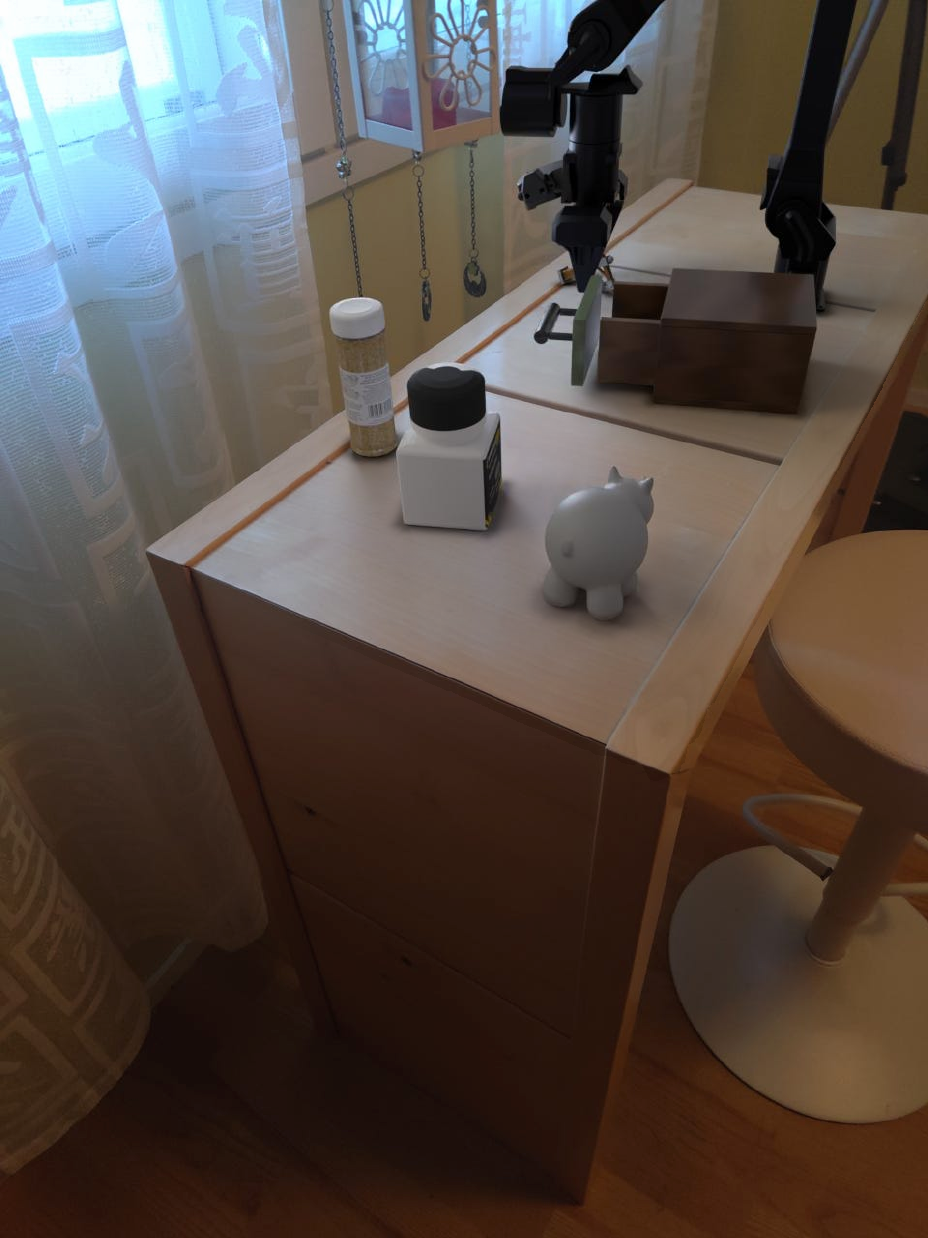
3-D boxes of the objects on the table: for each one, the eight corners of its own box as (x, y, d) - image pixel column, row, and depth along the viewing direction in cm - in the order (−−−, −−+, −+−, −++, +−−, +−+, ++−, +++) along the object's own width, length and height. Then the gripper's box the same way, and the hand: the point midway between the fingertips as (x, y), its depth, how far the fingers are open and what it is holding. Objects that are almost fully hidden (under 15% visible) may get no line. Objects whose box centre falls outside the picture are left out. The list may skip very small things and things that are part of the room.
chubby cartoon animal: (684, 549, 69) (698, 454, 64) (613, 638, 62) (622, 540, 56) (602, 522, 72) (608, 429, 67) (525, 603, 65) (525, 507, 60)
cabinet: (652, 403, 87) (661, 317, 81) (664, 347, 96) (672, 267, 90) (797, 414, 84) (817, 326, 78) (796, 356, 93) (813, 273, 87)
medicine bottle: (487, 532, 72) (482, 398, 64) (403, 526, 73) (387, 393, 65) (502, 484, 77) (499, 354, 69) (423, 479, 79) (411, 350, 71)
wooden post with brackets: (617, 292, 106) (606, 253, 104) (567, 304, 112) (556, 268, 110) (625, 287, 107) (615, 249, 105) (576, 299, 113) (565, 264, 111)
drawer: (529, 382, 90) (529, 316, 85) (550, 334, 98) (551, 272, 93) (698, 395, 86) (708, 327, 81) (706, 344, 94) (714, 280, 89)
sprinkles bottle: (390, 430, 85) (374, 291, 77) (404, 452, 82) (389, 310, 73) (344, 440, 84) (322, 301, 76) (357, 463, 81) (335, 320, 72)
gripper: (539, 116, 107) (538, 249, 117) (505, 159, 94) (507, 305, 104) (632, 117, 105) (623, 252, 115) (610, 161, 91) (602, 310, 102)
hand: (588, 278), depth 109 cm, fingers open, 8 cm apart
